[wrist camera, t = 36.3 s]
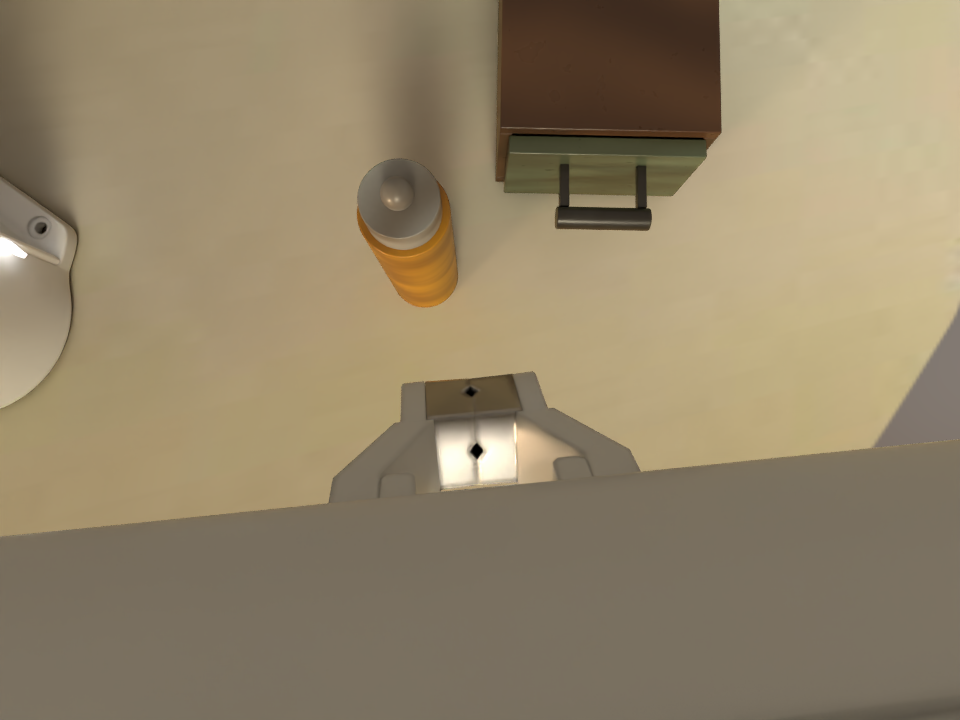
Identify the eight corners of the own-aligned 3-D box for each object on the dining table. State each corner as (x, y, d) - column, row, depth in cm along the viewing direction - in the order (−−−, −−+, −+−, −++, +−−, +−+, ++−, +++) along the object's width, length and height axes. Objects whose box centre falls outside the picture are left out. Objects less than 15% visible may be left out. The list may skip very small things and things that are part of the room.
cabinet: (676, 185, 47) (721, 132, 38) (495, 181, 46) (500, 127, 38) (674, -10, 48) (717, -103, 39) (498, -14, 48) (503, -108, 39)
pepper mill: (379, 274, 46) (320, 185, 28) (426, 230, 46) (397, 116, 29) (424, 320, 45) (392, 259, 28) (471, 276, 46) (469, 188, 28)
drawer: (673, 252, 45) (708, 223, 38) (502, 249, 45) (507, 218, 38) (670, 10, 47) (703, -59, 40) (506, 7, 47) (512, -63, 40)
